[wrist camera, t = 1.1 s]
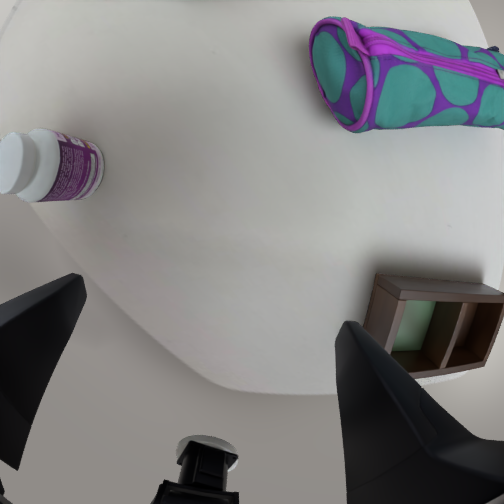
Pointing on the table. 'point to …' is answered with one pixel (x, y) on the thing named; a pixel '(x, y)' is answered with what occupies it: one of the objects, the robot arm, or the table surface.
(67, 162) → the pill bottle
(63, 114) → the table surface
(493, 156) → the table surface
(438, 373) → the compartment box
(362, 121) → the pencil case
